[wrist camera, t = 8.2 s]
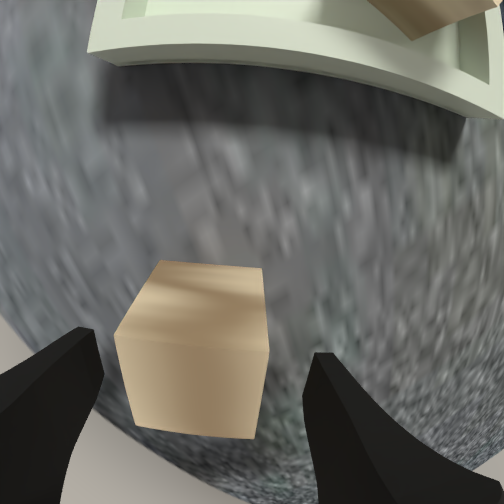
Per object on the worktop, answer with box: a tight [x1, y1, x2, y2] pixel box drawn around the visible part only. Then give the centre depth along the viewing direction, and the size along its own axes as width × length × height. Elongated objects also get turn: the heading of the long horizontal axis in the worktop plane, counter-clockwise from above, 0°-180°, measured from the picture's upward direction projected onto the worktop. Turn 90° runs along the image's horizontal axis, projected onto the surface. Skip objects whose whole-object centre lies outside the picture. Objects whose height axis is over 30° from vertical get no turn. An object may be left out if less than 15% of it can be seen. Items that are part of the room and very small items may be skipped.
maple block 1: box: [114, 260, 269, 439], centre depth 10 cm, size 4×4×5 cm
